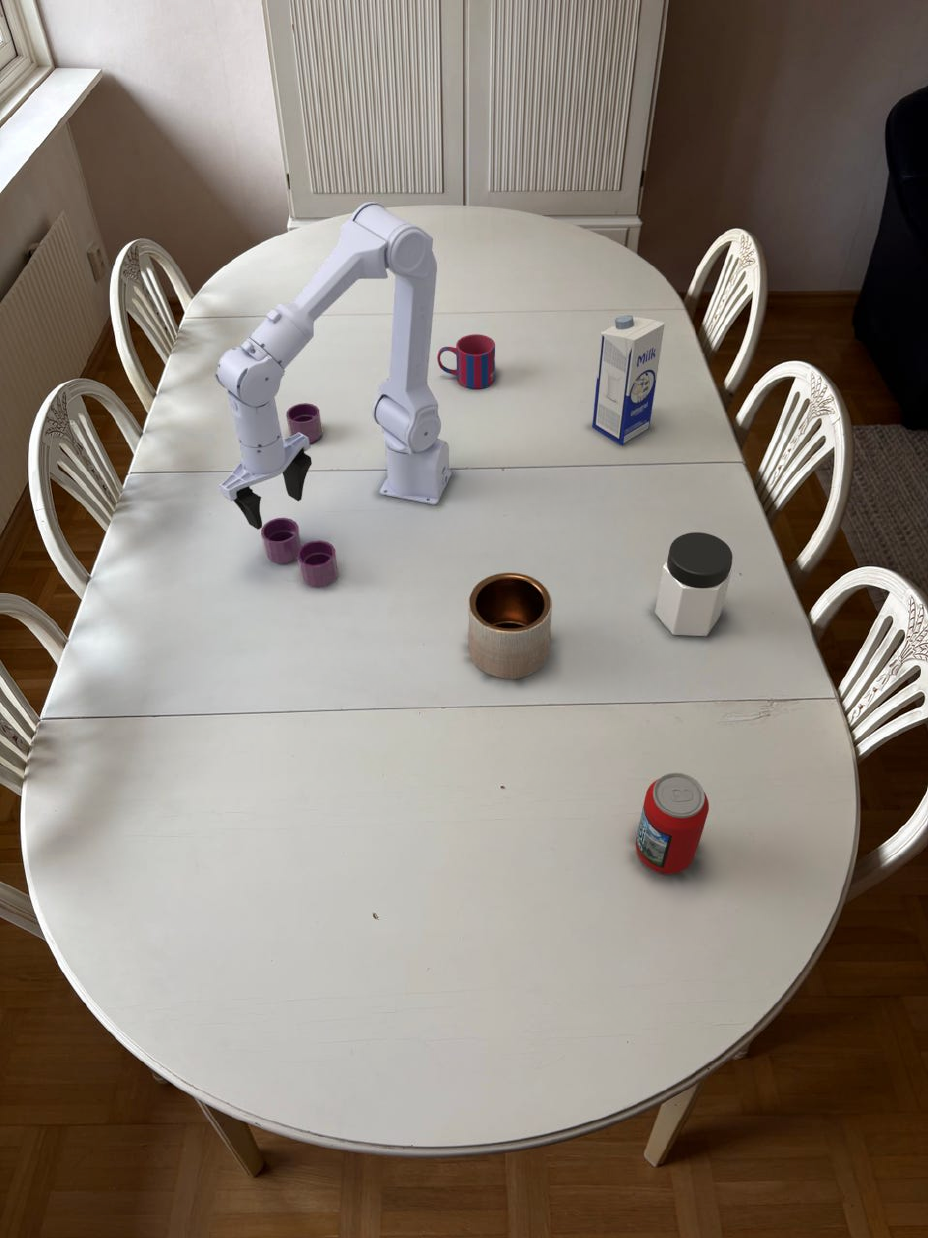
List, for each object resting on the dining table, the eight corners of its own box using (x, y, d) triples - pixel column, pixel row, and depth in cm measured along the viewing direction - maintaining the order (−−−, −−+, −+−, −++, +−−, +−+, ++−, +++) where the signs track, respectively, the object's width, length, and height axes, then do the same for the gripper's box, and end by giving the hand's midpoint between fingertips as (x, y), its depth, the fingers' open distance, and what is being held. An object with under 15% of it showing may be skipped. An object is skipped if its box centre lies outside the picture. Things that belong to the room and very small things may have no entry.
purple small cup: (344, 566, 146) (341, 544, 142) (330, 592, 142) (326, 570, 139) (310, 559, 147) (306, 537, 144) (295, 584, 143) (291, 562, 140)
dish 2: (327, 428, 168) (324, 406, 165) (315, 447, 165) (311, 425, 161) (298, 422, 169) (294, 400, 166) (285, 442, 166) (280, 419, 162)
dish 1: (308, 543, 149) (304, 521, 146) (293, 568, 146) (289, 546, 142) (275, 537, 150) (270, 514, 147) (260, 561, 147) (254, 539, 143)
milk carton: (620, 446, 163) (634, 339, 148) (591, 427, 167) (601, 321, 152) (650, 428, 166) (666, 321, 151) (620, 410, 170) (632, 304, 155)
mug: (492, 390, 174) (493, 356, 169) (436, 387, 175) (434, 353, 170) (496, 368, 179) (496, 334, 174) (441, 365, 180) (439, 332, 175)
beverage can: (629, 827, 116) (640, 769, 107) (686, 822, 116) (702, 764, 107) (641, 880, 111) (654, 824, 103) (700, 875, 112) (718, 819, 103)
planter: (456, 634, 136) (454, 586, 129) (527, 610, 139) (529, 561, 132) (488, 692, 130) (488, 644, 123) (563, 665, 132) (567, 617, 125)
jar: (731, 626, 136) (748, 564, 128) (681, 647, 134) (694, 585, 125) (693, 584, 142) (707, 522, 133) (644, 603, 140) (655, 541, 131)
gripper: (279, 397, 137) (293, 474, 147) (197, 449, 130) (218, 526, 140) (315, 416, 134) (327, 494, 144) (232, 470, 127) (251, 548, 137)
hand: (275, 511), depth 142 cm, fingers open, 7 cm apart
